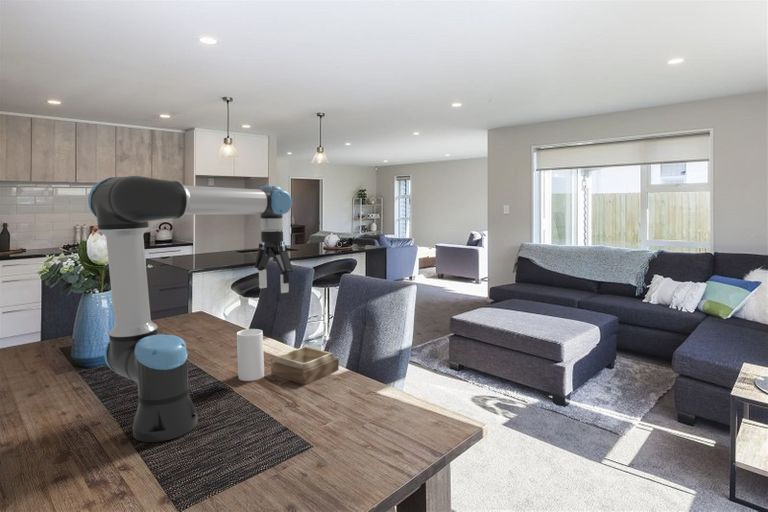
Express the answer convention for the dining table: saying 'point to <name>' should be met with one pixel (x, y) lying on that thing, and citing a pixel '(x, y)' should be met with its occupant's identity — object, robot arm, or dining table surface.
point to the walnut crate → (301, 375)
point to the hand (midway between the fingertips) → (273, 290)
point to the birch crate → (304, 358)
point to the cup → (250, 354)
